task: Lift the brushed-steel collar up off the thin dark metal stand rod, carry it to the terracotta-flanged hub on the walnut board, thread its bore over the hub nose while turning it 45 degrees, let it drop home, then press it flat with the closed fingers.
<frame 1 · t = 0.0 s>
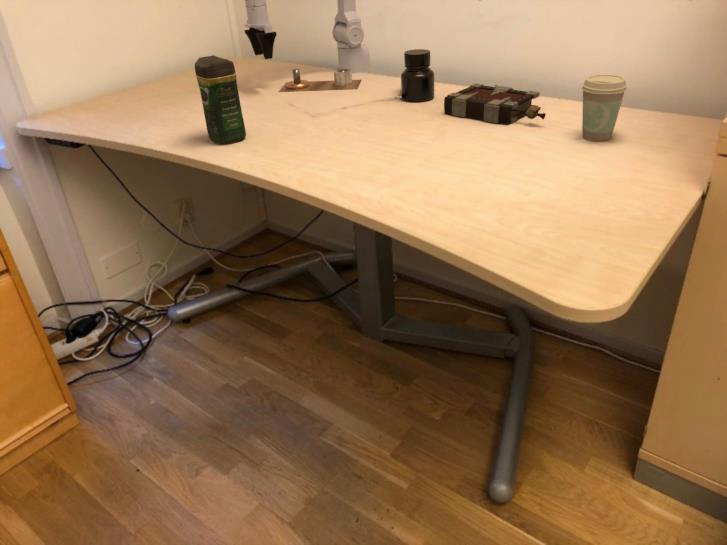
hand: (263, 56, 169), 10 cm above the table, fingers open, 7 cm apart
coffee cup: (596, 137, 124), on the table
hub: (298, 91, 172), resting on walnut board
stand rod: (344, 90, 171), resting on walnut board
ink bottle: (417, 99, 158), on the table
coffee jar: (228, 139, 139), on the table
book: (502, 116, 142), on the table
walnut board: (321, 90, 171), on the table
steel collar: (343, 84, 170), point 1 cm above the table, touching walnut board
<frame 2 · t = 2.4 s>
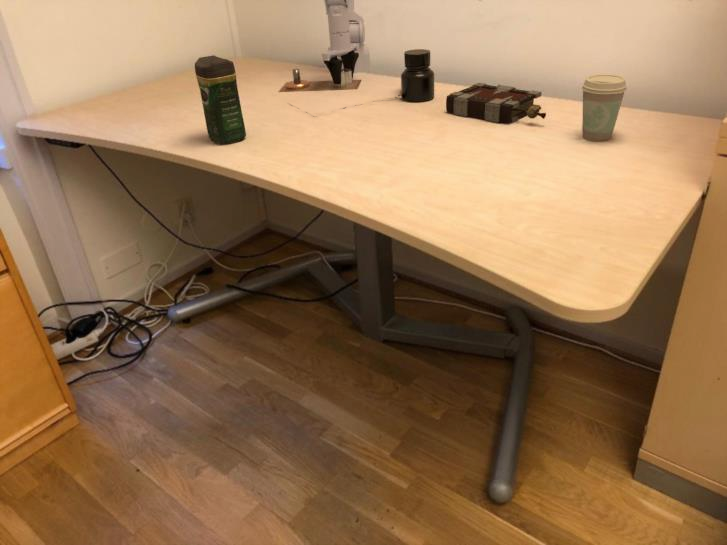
hand: (343, 81, 169), 2 cm above the table, fingers closed on steel collar, 5 cm apart
steel collar: (343, 84, 170), point 1 cm above the table, touching gripper, walnut board
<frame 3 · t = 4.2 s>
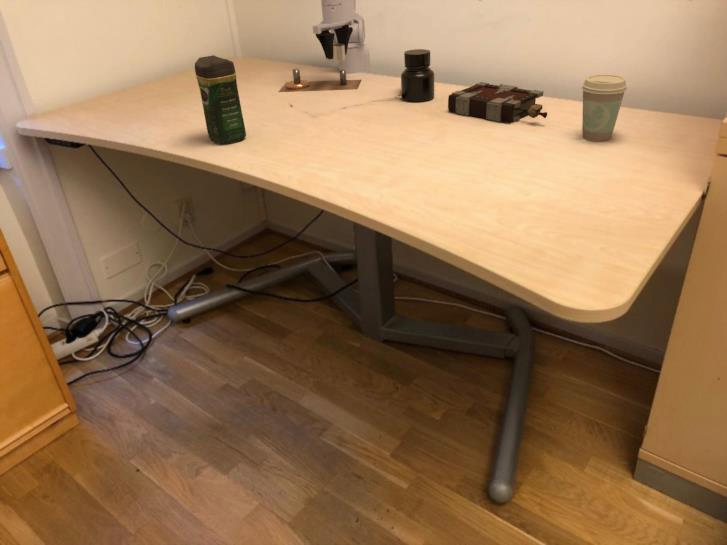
hand: (336, 56, 166), 9 cm above the table, fingers closed on steel collar, 5 cm apart
steel collar: (336, 60, 166), point 8 cm above the table, touching gripper
when the fingers open (5 cm above the table, at t = 6.2 s): steel collar drops 1 cm, resting on hub.
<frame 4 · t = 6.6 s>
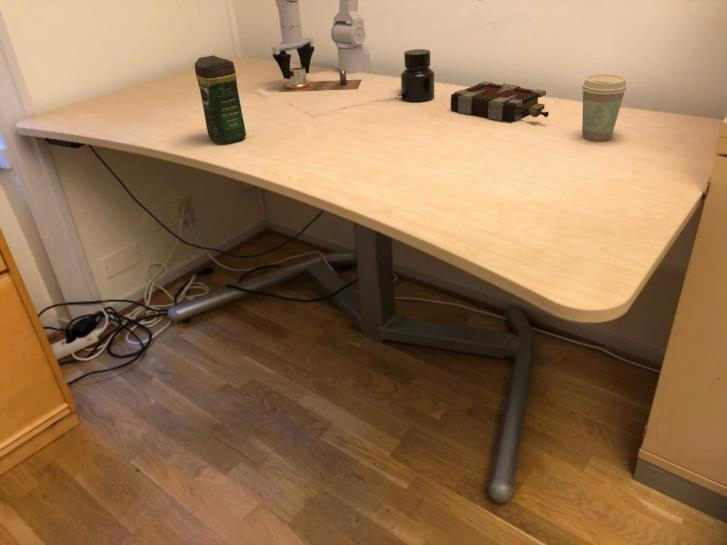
hand: (296, 75, 170), 5 cm above the table, fingers open, 7 cm apart
steel collar: (298, 83, 171), point 2 cm above the table, touching hub
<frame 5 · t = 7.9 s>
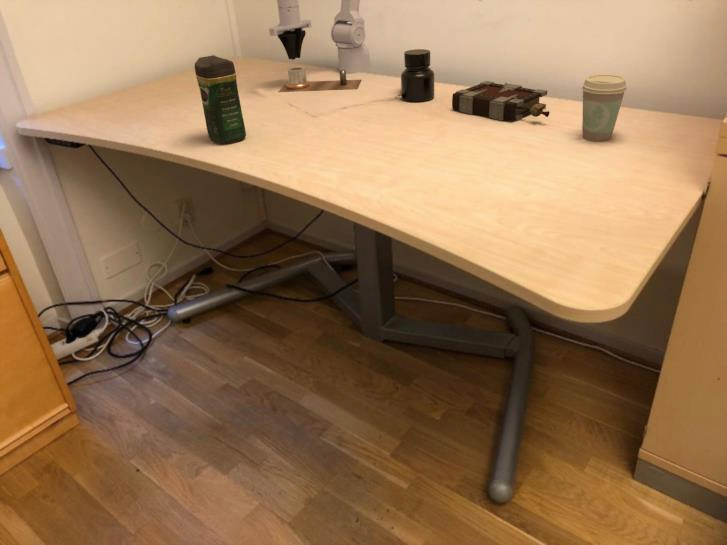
hand: (294, 58, 167), 9 cm above the table, fingers closed
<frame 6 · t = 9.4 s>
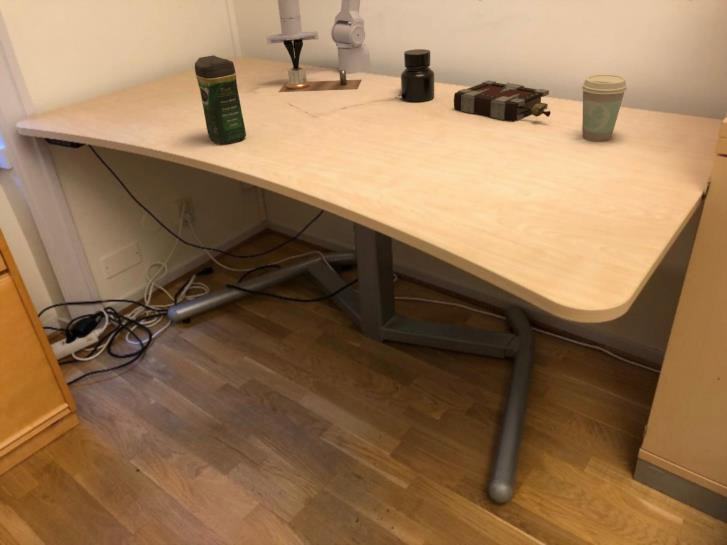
hand: (295, 67, 171), 6 cm above the table, fingers closed, pressing on steel collar
steel collar: (298, 83, 171), point 2 cm above the table, touching gripper, hub
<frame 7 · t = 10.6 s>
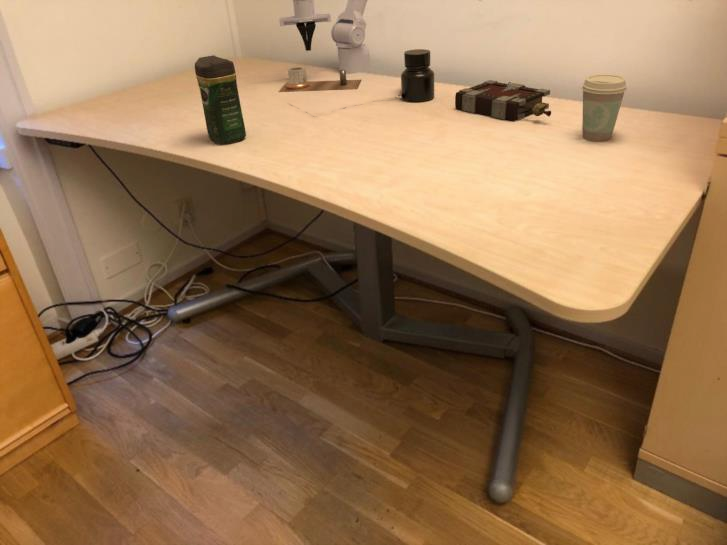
hand: (308, 50, 171), 10 cm above the table, fingers closed
steel collar: (298, 83, 171), point 2 cm above the table, touching hub
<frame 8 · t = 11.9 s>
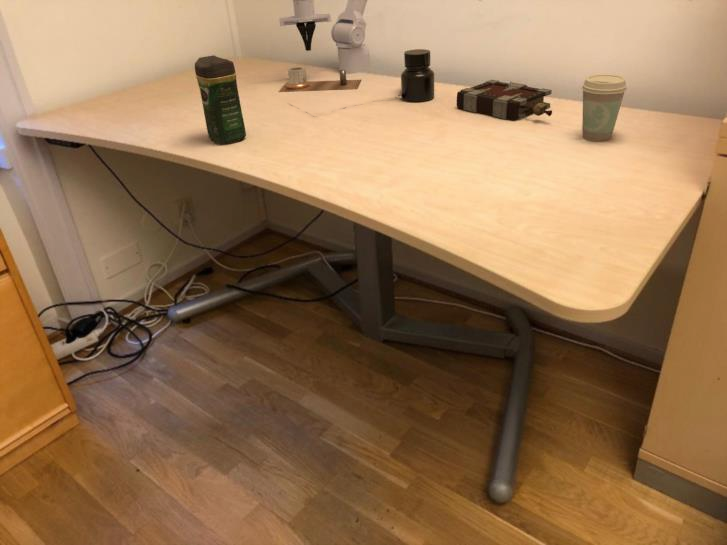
hand: (308, 50, 171), 10 cm above the table, fingers closed
at the end: steel collar 0.2 cm off-centre on the hub, point 2.5 cm above the hub's base; steel collar tilted 0°; the gripper is holding nothing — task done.
